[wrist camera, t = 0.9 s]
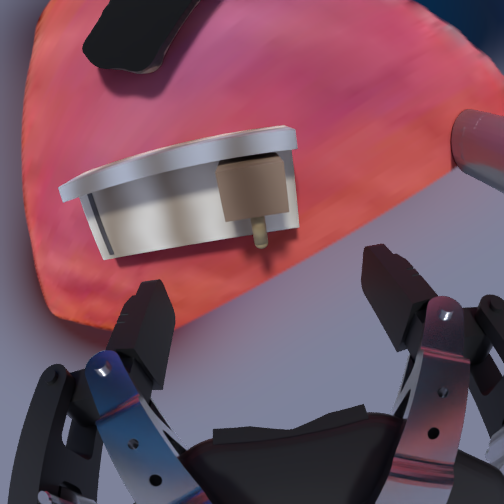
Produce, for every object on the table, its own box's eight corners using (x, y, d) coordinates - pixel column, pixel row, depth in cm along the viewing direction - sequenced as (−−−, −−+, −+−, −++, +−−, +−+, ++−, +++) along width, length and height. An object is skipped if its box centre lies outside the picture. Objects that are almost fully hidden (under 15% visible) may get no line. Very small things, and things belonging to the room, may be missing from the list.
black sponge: (169, -51, 12) (161, -66, 9) (237, -35, 15) (237, -51, 12) (91, 62, 19) (74, 59, 16) (154, 83, 22) (142, 81, 18)
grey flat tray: (284, 125, 24) (295, 129, 19) (294, 217, 29) (305, 241, 24) (84, 172, 25) (58, 187, 20) (111, 249, 30) (93, 274, 25)
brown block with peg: (274, 151, 23) (283, 161, 19) (284, 226, 27) (293, 252, 23) (219, 160, 23) (215, 172, 19) (234, 234, 27) (233, 261, 23)
